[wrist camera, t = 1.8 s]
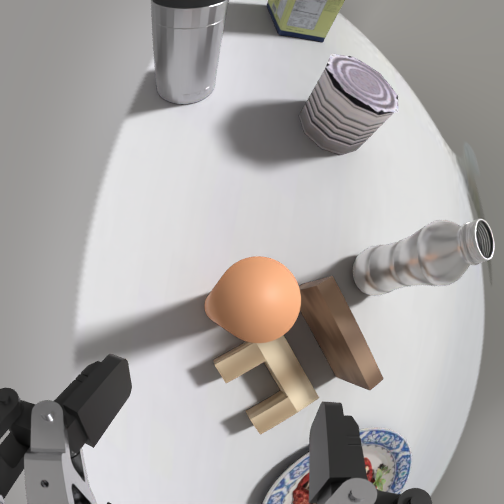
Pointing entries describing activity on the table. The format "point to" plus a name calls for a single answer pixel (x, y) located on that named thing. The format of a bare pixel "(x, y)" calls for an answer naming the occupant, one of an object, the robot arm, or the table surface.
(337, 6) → the protein box
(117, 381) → the robot arm
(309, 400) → the block
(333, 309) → the wall
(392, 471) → the ceramic plate
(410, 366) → the table surface
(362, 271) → the plastic bottle
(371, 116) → the can
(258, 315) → the dowel
